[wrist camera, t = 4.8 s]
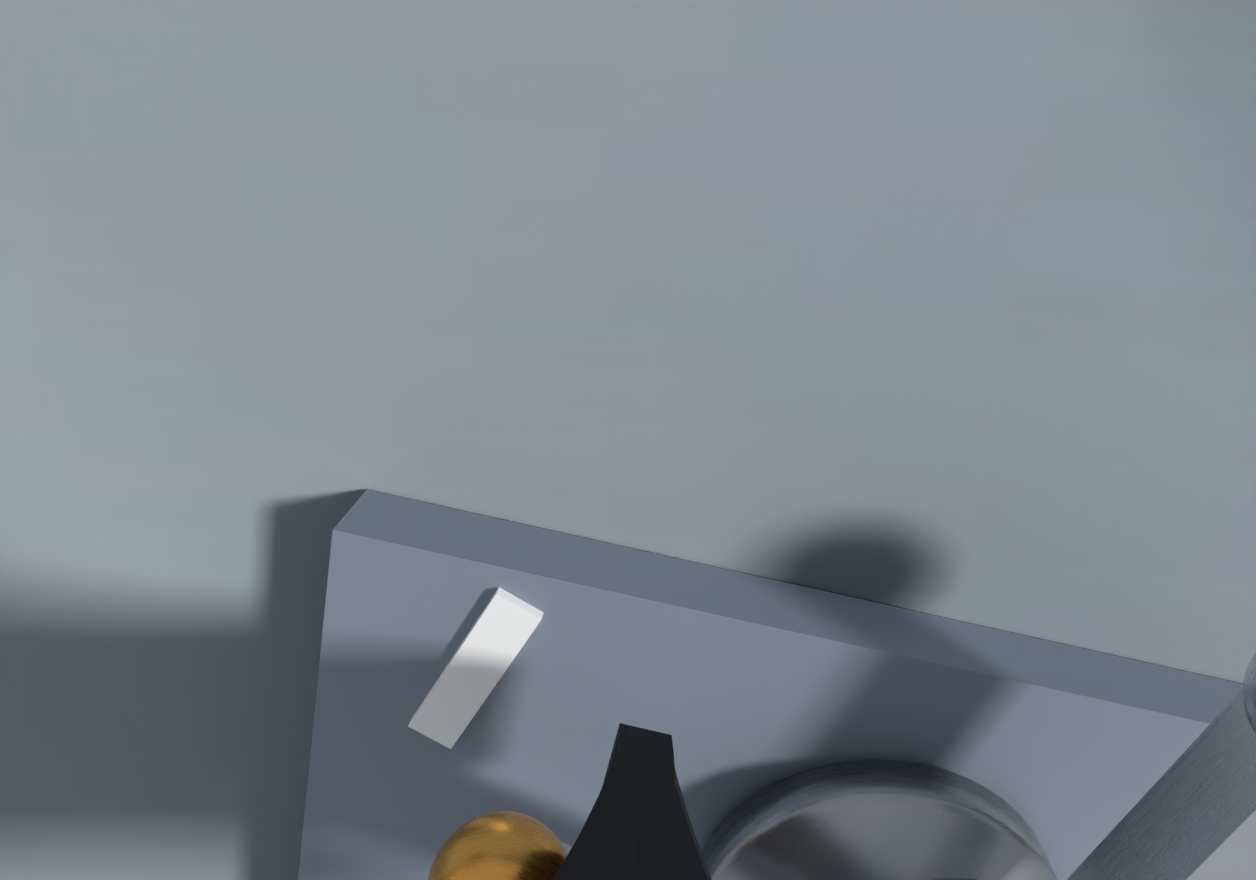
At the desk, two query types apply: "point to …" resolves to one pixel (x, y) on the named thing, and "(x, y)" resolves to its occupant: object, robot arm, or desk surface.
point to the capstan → (934, 825)
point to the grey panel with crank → (681, 692)
